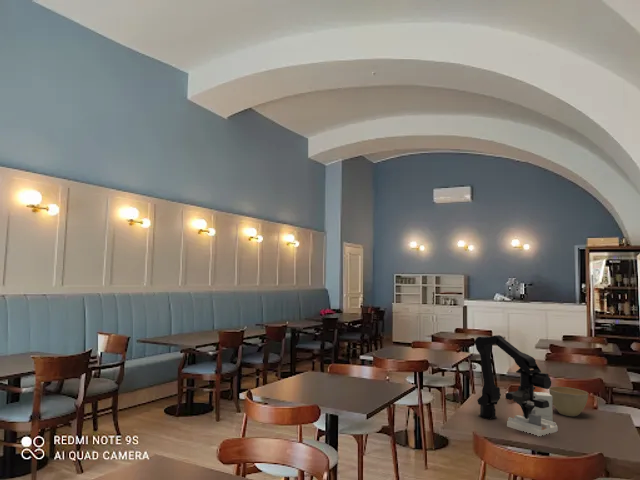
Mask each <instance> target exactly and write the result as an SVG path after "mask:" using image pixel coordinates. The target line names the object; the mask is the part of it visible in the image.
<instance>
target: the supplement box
mask: <svg viewBox="0 0 640 480" xmlns="http://www.w3.org/2000/svg"><path fill="white" fill-rule="evenodd" d="M534 396H535V398H534V400H537V399H543V400H547V401H548V402H549V407H547V408H538V407H534V408H533V409H534V410H535V414H536V415H540V416H541V419H544V420H548V421H551V422H554V421H553V402H552V396H551V395H550V392H541V391H540V392H538V391H534Z"/></svg>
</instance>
